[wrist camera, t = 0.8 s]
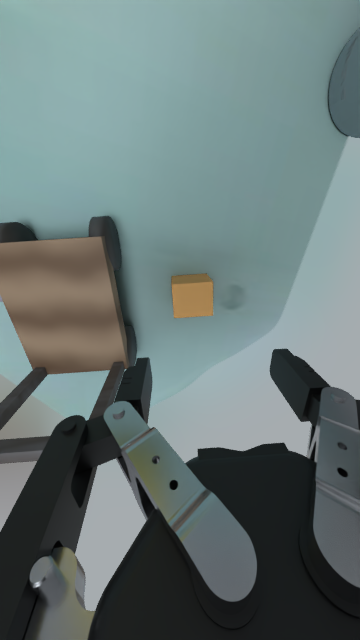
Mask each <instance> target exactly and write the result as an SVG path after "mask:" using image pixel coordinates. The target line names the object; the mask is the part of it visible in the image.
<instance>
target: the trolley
mask: <svg viewBox="0 0 360 640" xmlns="http://www.w3.org/2000/svg"><path fill="white" fill-rule="evenodd" d="M120 265H121V250H120V243H119V238H118V233H117V230H116V227H115V224H114V222H113V220H112V219H111V217H109V216H103V217H92V218H91V220H90V223H89V237H83V238H68V239H52V240H37V239H36V238H35V236H34V235H33V233H32V232H31V231H30V230H29V229H28V228H27V227H26V226H24V225H23V224H21V223H18V222H10V223H0V295H1V298H2V300H3V302H4V305H5V307H6V309H7V311H8V314H9V316H10V318H11V321H12V323H13V325H14V327H15V330H16V332H17V334H18V337H19V339H20V341H21V343H22V346H23V348H24V350H25V353H26V355H27V357H28V359H29V362H30V364H31V366H32V369H33V371H32V372H31V373H30V374H29V375H28V376H27V377H26V378H25V379H24V380H23V381H22V382H21V383H20V384H19V385H18V386H17V387H16V388H15V389H14V390H13V391H12V392H11V393H10V394H9V395H8V396H7V397H6V398H5V399H4V400H3V401H2V402H1V403H0V430H1V429H2V428H3V426H4V425H5V424H6V423H7V422H8V421H9V419H10V418H11V417H12V416H13V414H14V413H15V412H16V411H17V410H18V409H19V408H20V407H21V405H22V404H23V403H24V402H25V401H26V399H27V398H28V397H29V396H30V395H31V394H32V392H33V391H34V390H35V389H36V388H37V387H38V385H39V384H40V383H41V382H42V381H43V380H44V378H45V377H46V376H47V375H48V374H61V373H75V372H89V371H103V370H110V372H109V374H108V376H107V379H106V381H105V383H104V386H103V388H102V390H101V392H100V395H99V397H98V399H97V402H96V404H95V406H94V408H93V411H92V413H91V415H90V418H89V420H90V419H93V418H96V417H99V416H101V415H103V414H104V413H105V411H106V409H107V408H108V407H109V406H110V405H112V404H113V402H114V399H115V396H116V393H117V390H118V388H119V385H120V382H121V379H122V376H123V373H124V370H125V369H127V368H128V367H131V366H134V365H135V361H136V351H137V350H136V337H135V332H134V329H133V327H132V326H124V322H123V317H122V312H121V307H120V302H119V296H118V291H117V286H116V281H115V275H114V271H118V270H119V268H120ZM49 438H50V436H46V437H32V438H18V439H6V440H5V439H4V440H0V464H2V463H16V462H29V461H38V459H39V457H40V455H41V453H42V451H43V449H44V448H45V446H46V444H47V442H48V440H49Z"/></svg>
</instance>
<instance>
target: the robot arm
mask: <svg viewBox="0 0 360 640" xmlns="http://www.w3.org/2000/svg"><path fill="white" fill-rule="evenodd" d="M329 108H330V112H331V116H332V119H333V121H334V123H335V125H336V126H337V127H338V128H339V130H340V131H341V132H343V133H344V134H346V135H348V136H351V137H356V138H360V28H359V29H358V30H357V31H356V32H355V33H354V35H353V36H352V37H351V39H350V40H349V41H348V42H347V44H346V45H345V47H344V49H343V50H342V52H341V54H340V56H339V57H338V60H337V62H336V65H335V67H334V70H333V73H332V77H331V81H330V88H329ZM270 375H271V378H272V379H273V381H274V382H275V384H276V385H277V387H278V388H279V390H280V391H281V393H282V394H283V396H284V397H285V399H286V400H287V402H288V403H289V405H290V406H291V408H292V409H293V411H294V412H295V414H296V415H297V417H298V418H299V419H300V421H301V422H304V421H310V422H311V424H312V425H311V428H310V436H309V443H308V451H307V457H305V456H303V455H301V454H298V453H296V452H292V451H288V449H287V447H286V445H285V444H284V443H273V444H263V445H260V446H257V447H254V448H252V449H249V450H246V451H236V450H230V449H225V448H205V449H198V457H195V458H193V459H191V460H189V461H188V462H187V463H184V462H183V461H182V459H181V458H180V457H179V456H178V454H177V453H176V452H175V451H174V450H173V449H172V447H171V446H170V445H169V443H168V442H167V441H166V440H165V439H164V437H163V436H162V435H161V434H160V433H159V431H158V430H157V429H156V428H154V427H153V428H151V429H150V428H149V426H148V425H147V423H148V415H149V407H150V399H151V391H152V373H151V366H150V359H149V357H147V358H137V361H136V364H135V366H131V367H128V368H127V370H126V371H125V372H124V374H123V377H122V380H121V383H120V386H119V389H118V392H117V395H116V398H115V401H114V404H112V405H110V406H109V407H108V408H107V409H106V411H105V413H104V414H103V415H101V416H99V417H96V418H93V419H90V420H87V421H86V420H85V418H84V417H82V416H80V415H74V416H70V417H68V418H66V419H64V420H63V421H61V422H60V423H59V424H58V425H57V426H56V427H55V429H54V430H53V432H52V434H51V436H50V438H49V440H48V442H47V444H46V446H45V448H44V449H43V451H42V453H41V455H40V457H39V459H38V461H37V463H36V465H35V467H34V469H33V471H32V473H31V475H30V476H29V478H28V480H27V482H26V484H25V486H24V488H23V490H22V492H21V494H20V496H19V498H18V499H17V501H16V503H15V505H14V507H13V509H12V511H11V513H10V515H9V517H8V519H7V520H6V522H5V524H4V526H3V528H2V530H1V532H0V640H360V400H355V399H354V397H353V396H351V395H350V394H349V393H348V392H346V391H344V390H342V389H339V388H335V387H330V386H329V384H327V382H326V381H324V380H323V379H322V378H321V376H319V375H318V374H317V373H316V372H315V371H314V370H313V369H312V368H311V367H310V366H309V365H308V364H307V363H306V362H305V361H304V360H302V359H301V358H299V357H297V356H294V355H293V354H292V353H291V352H290V351H289V350H288V349H274V350H273V353H272V359H271V365H270ZM115 458H116V460H117V461H118V463H119V465H120V467H121V469H122V471H123V473H124V475H125V476H126V478H127V481H128V482H129V484H130V486H131V488H132V490H133V493H134V495H135V498H136V500H137V502H138V505H139V507H140V509H141V511H142V513H143V515H144V517H145V519H146V523H145V524H144V526H143V528H142V529H141V531H140V532H139V534H138V536H137V537H136V539H135V541H134V542H133V544H132V546H131V547H130V549H129V551H128V552H127V554H126V555H125V557H124V558H123V560H122V562H121V564H120V565H119V567H118V568H117V570H116V571H115V573H114V575H113V576H112V578H111V580H110V581H109V583H108V585H107V586H106V588H105V590H104V592H103V594H102V596H101V598H100V600H99V603H98V605H97V608H96V611H88V610H86V609H85V604H84V592H85V572H84V569H83V568H82V566H81V564H80V562H79V561H78V559H77V557H76V556H75V551H76V548H77V543H78V539H79V536H80V532H81V528H82V524H83V520H84V516H85V513H86V509H87V504H88V501H89V497H90V493H91V489H92V485H93V481H94V478H95V474H96V470H97V466H98V465H100V464H103V463H105V462H108V461H110V460H113V459H115Z"/></svg>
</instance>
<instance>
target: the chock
mask: <svg viewBox="0 0 360 640" xmlns="http://www.w3.org/2000/svg"><path fill="white" fill-rule="evenodd" d="M172 297H173V309H174V318H184V317H198V316H212V315H213V281H212V280H211V278H210V277H209V276H208V275H207V274H193V275H178V276H172Z"/></svg>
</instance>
